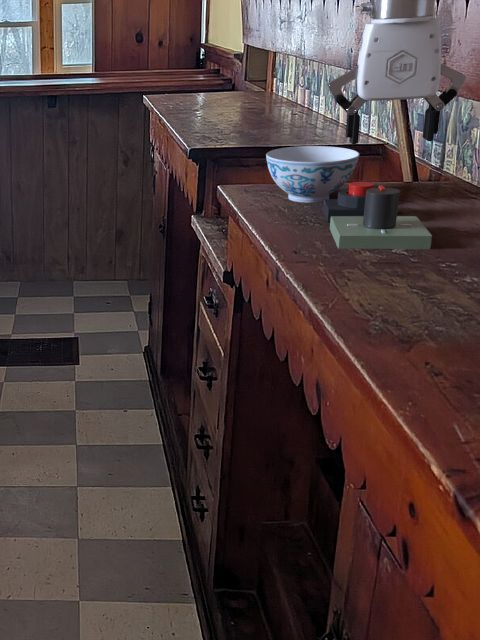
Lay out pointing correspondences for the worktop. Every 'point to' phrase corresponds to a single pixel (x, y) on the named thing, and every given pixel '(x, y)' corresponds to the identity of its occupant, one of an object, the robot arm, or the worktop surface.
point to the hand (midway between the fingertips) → (390, 141)
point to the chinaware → (311, 170)
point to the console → (379, 234)
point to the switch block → (344, 205)
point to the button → (359, 188)
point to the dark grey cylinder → (381, 208)
